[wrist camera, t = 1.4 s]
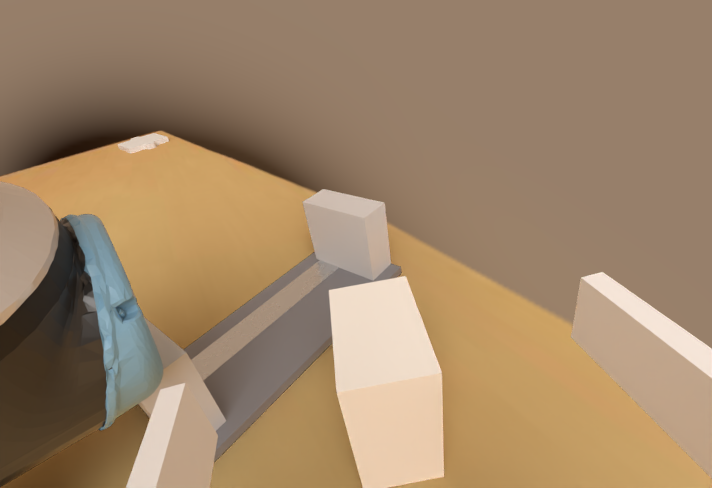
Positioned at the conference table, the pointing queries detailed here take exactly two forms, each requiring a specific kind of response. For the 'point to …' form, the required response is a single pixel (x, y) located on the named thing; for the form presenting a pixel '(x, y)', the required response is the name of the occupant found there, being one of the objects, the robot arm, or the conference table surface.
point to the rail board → (270, 343)
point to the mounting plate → (142, 143)
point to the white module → (387, 383)
